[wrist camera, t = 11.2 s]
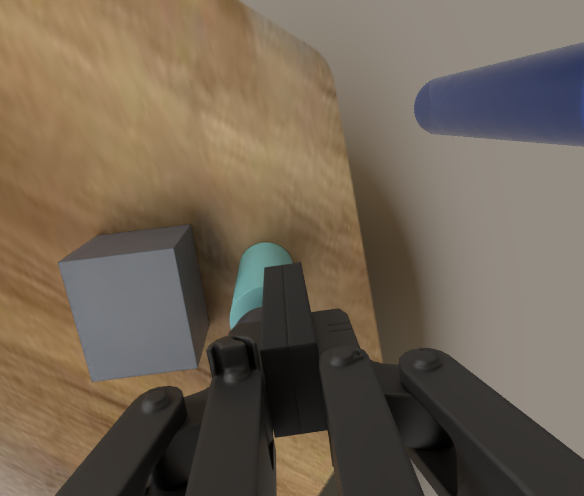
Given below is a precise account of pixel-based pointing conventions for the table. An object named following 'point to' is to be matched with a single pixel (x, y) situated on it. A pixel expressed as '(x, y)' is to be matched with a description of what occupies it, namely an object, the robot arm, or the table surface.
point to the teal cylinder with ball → (254, 281)
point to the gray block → (137, 302)
